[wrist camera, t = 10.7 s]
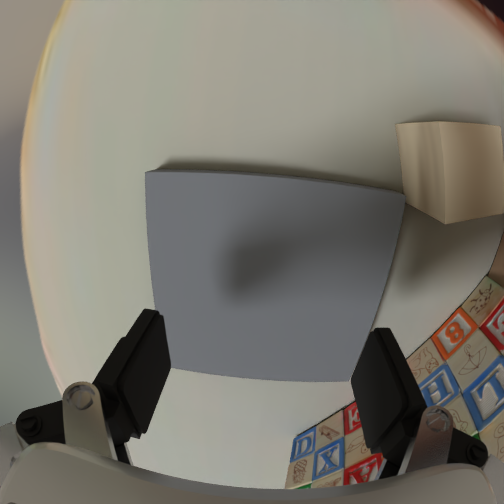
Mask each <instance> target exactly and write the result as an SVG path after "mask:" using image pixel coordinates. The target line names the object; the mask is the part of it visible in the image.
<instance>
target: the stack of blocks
mask: <svg viewBox="0 0 504 504" xmlns="http://www.w3.org/2000/svg"><path fill="white" fill-rule="evenodd" d="M406 361H407V363H408V365H409V367H410V369H411V371H412V373H413V375H414V377H415V379H416V382H417V384H418V386H419V388H420V390H421V393H422V395H423V397H424V399H425V402H426V405H427V407H430V406H435V405H437V406H441V407H444V408H445V409H447V410H448V411H449V412H450V414H451V415H452V417H453V427H454V428H456V429H458V430H460V431H462V432H464V433H466V434H468V435H470V436H472V437H475V438H477V439H479V440H481V441H482V442H483V443H484V444H485V445H486V447H487V449H488V456H489V455H490V454H492V455H494V456H495V457H496V458H498V459H499V460H501V461H502V462H504V288H503V287H501V286H500V285H499V284H497V283H496V282H495V281H493V280H492V279H490V278H489V277H487V276H486V277H484V279H483V280H482V281H481V283H480V284H479V285H478V287H477V288H476V289H475V290H474V291H473V293H472V294H471V295H470V296H469V298H468V299H467V300H466V301H465V302H464V303H463V305H462V306H461V307H459V308H458V309H457V310H456V311H455V312H454V314H453V315H452V316H451V317H450V318H449V319H448V320H447V321H446V322H445V323H444V324H443V325H442V326H441V328H440V329H439V330H438V331H437V332H436V333H435V334H434V335H433V336H432V337H431V338H430V339H429V340H427V341H426V342H425V343H424V344H423V345H422V346H421V347H420V348H419V349H418V350H417V351H416V352H414V353H413V354H412V355H411V356H410V357H409V358H408V359H407V360H406ZM383 459H384V458H383V455H382V453H377V454H371V451H370V448H367V447H366V444H365V439H364V435H363V430H362V426H361V422H360V417H359V413H358V409H357V405H356V402H354V403H353V404H351V405H350V406H348V407H347V408H346V409H345V410H341V411H339V412H338V413H336V414H335V415H333V416H332V417H330V418H328V419H327V420H325V421H324V422H322V423H320V424H319V425H317V426H315V427H313V428H312V429H310V430H308V431H306V432H305V433H303V434H301V435H299V436H297V437H296V438H294V440H293V446H292V452H291V458H290V465H289V467H288V473H287V478H286V483H285V489H309V488H323V487H334V486H343V485H350V484H357V483H363V482H369V481H374V479H375V477H376V475H377V473H378V471H379V468H380V466H381V464H382V462H383Z"/></svg>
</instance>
